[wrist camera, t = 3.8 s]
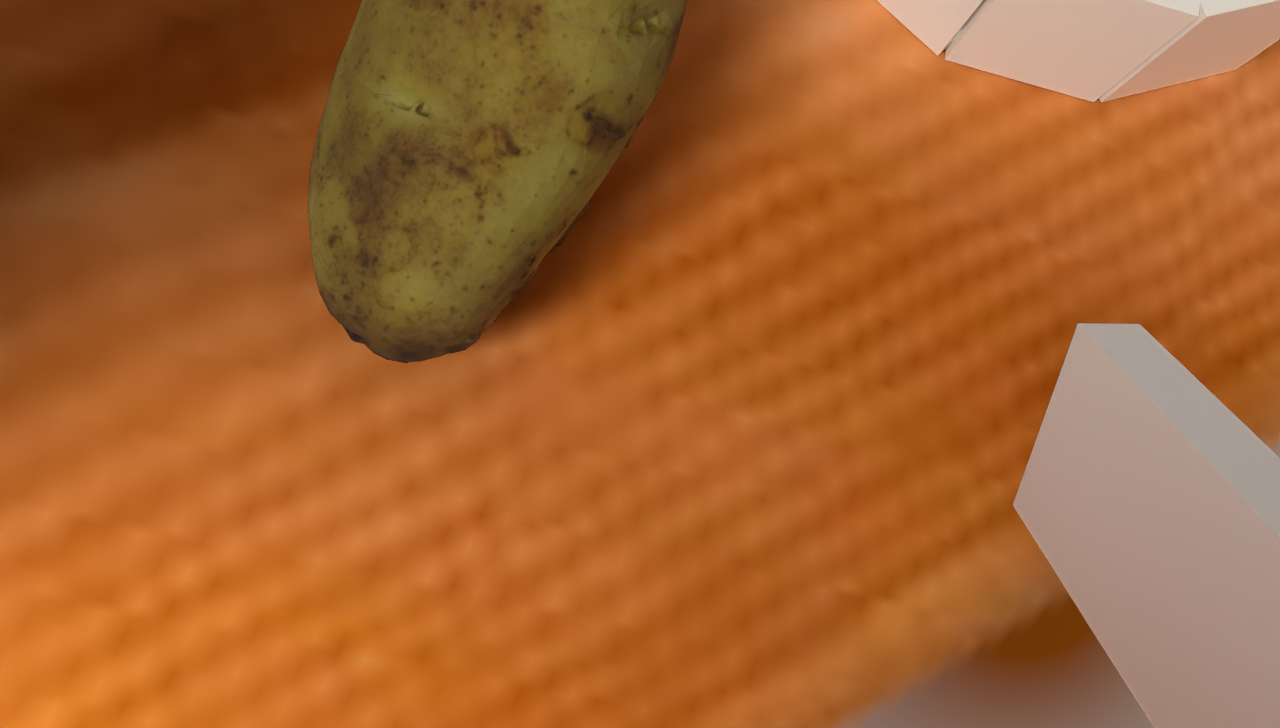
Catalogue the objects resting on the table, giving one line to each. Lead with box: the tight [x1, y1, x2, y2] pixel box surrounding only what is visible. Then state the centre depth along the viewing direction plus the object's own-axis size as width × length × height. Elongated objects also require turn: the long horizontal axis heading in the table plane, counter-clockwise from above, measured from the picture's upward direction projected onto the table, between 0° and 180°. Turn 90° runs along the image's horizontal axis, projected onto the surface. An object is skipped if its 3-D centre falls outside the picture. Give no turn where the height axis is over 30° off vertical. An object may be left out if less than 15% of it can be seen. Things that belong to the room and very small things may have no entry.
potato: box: [308, 0, 688, 363], centre depth 22 cm, size 8×13×8 cm, turn 137°
